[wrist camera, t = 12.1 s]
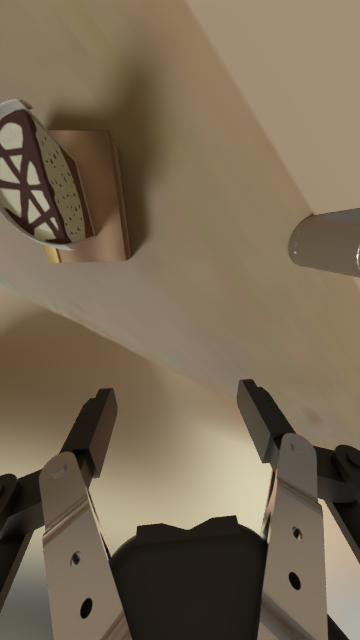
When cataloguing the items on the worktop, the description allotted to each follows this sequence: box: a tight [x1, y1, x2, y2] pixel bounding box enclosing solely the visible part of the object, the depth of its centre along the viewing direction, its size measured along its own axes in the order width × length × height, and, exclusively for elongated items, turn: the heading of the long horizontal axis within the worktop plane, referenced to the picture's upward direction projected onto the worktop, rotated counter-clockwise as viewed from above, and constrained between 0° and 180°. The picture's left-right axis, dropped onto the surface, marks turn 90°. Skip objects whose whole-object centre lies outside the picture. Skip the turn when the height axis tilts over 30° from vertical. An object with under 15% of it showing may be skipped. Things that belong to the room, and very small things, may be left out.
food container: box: [0, 98, 96, 250], centre depth 22 cm, size 12×6×10 cm, turn 5°
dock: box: [44, 130, 131, 263], centre depth 29 cm, size 12×16×5 cm
